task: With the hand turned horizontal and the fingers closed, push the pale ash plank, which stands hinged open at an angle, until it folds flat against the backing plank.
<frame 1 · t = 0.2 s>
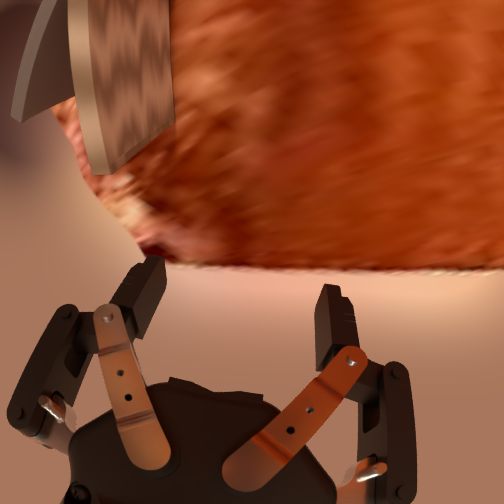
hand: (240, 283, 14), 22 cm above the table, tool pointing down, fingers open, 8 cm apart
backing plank: (116, 36, 22), on the table
ash plank: (130, 67, 19), point 7 cm above the table, hinge at 35.0°
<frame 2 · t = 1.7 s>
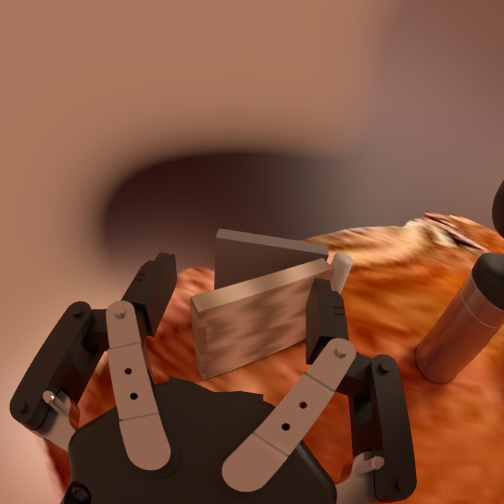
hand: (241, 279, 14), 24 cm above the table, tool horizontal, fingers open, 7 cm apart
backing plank: (259, 314, 43), on the table
ash plank: (260, 324, 33), point 7 cm above the table, hinge at 35.0°
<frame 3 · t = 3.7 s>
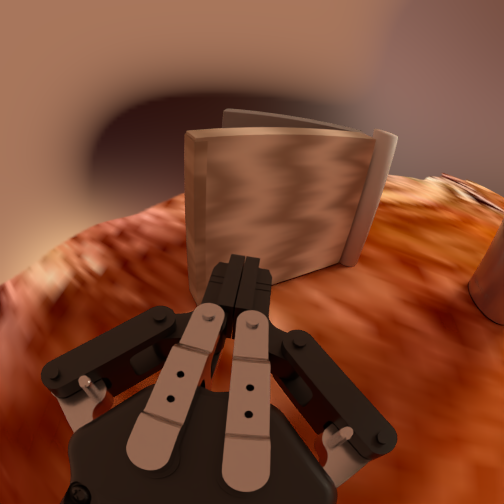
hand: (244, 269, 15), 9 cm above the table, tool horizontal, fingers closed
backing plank: (276, 234, 33), on the table
ash plank: (284, 213, 23), point 7 cm above the table, hinge at 35.0°
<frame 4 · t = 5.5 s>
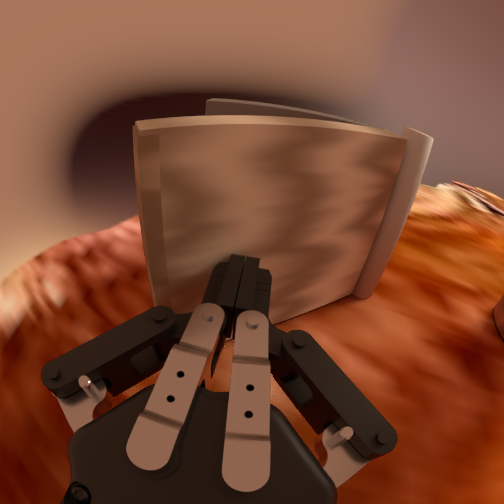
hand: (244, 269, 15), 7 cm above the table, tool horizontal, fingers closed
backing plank: (274, 257, 27), on the table
ash plank: (284, 238, 17), point 7 cm above the table, hinge at 34.3°, touching gripper
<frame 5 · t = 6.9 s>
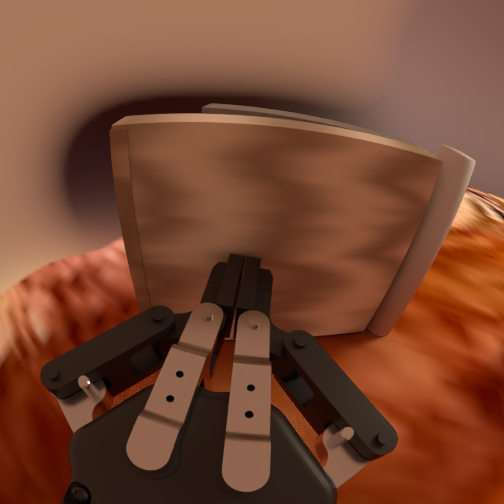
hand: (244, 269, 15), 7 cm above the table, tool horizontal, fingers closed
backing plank: (283, 287, 24), on the table
ash plank: (277, 250, 16), point 7 cm above the table, hinge at 14.4°, touching gripper
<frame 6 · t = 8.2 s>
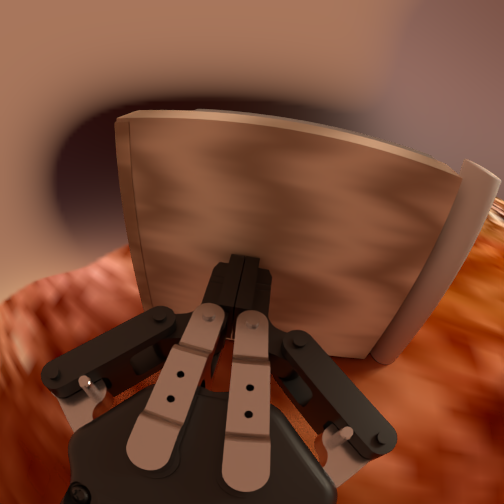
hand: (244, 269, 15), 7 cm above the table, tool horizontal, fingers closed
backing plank: (281, 311, 22), on the table
ash plank: (272, 255, 15), point 7 cm above the table, hinge at -0.7°, touching gripper
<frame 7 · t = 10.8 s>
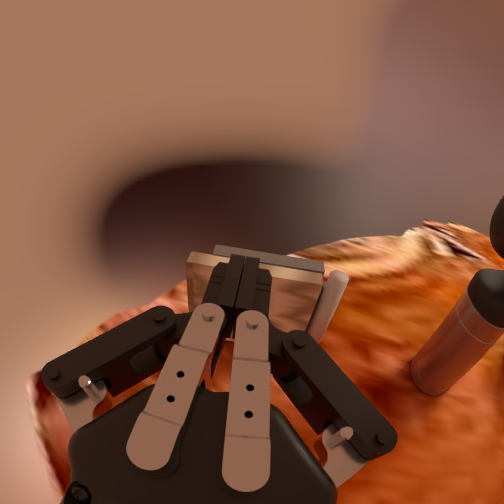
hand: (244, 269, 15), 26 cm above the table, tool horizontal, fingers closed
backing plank: (256, 327, 43), on the table
ash plank: (248, 307, 37), point 7 cm above the table, hinge at -0.7°
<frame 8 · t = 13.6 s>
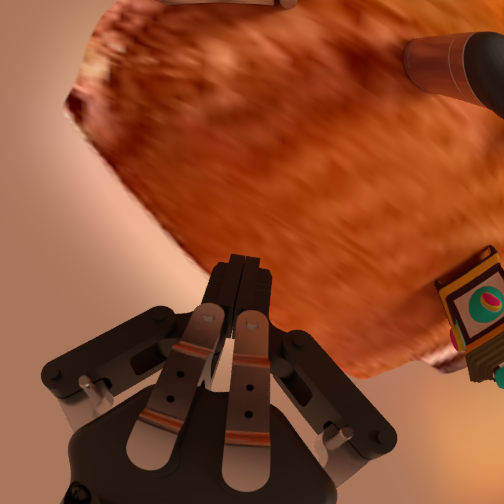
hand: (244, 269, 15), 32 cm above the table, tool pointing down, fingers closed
decorative lantern: (468, 283, 52), on the table
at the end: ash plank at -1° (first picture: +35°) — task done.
